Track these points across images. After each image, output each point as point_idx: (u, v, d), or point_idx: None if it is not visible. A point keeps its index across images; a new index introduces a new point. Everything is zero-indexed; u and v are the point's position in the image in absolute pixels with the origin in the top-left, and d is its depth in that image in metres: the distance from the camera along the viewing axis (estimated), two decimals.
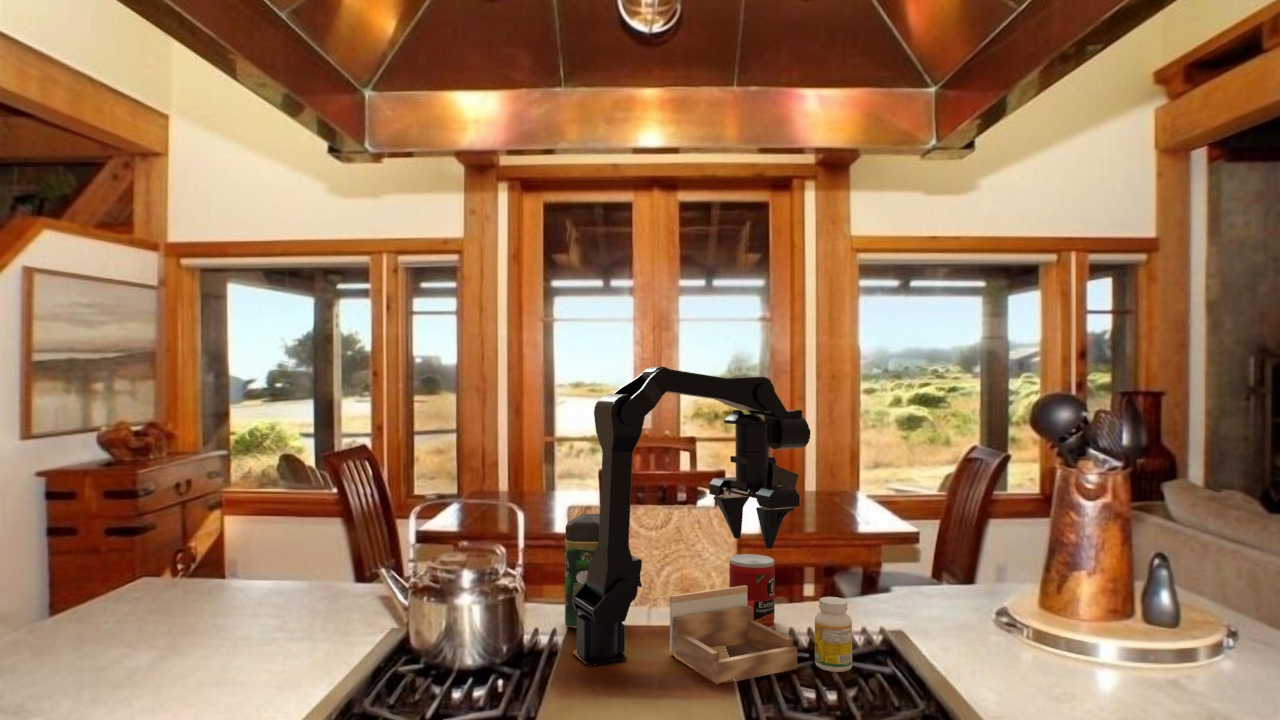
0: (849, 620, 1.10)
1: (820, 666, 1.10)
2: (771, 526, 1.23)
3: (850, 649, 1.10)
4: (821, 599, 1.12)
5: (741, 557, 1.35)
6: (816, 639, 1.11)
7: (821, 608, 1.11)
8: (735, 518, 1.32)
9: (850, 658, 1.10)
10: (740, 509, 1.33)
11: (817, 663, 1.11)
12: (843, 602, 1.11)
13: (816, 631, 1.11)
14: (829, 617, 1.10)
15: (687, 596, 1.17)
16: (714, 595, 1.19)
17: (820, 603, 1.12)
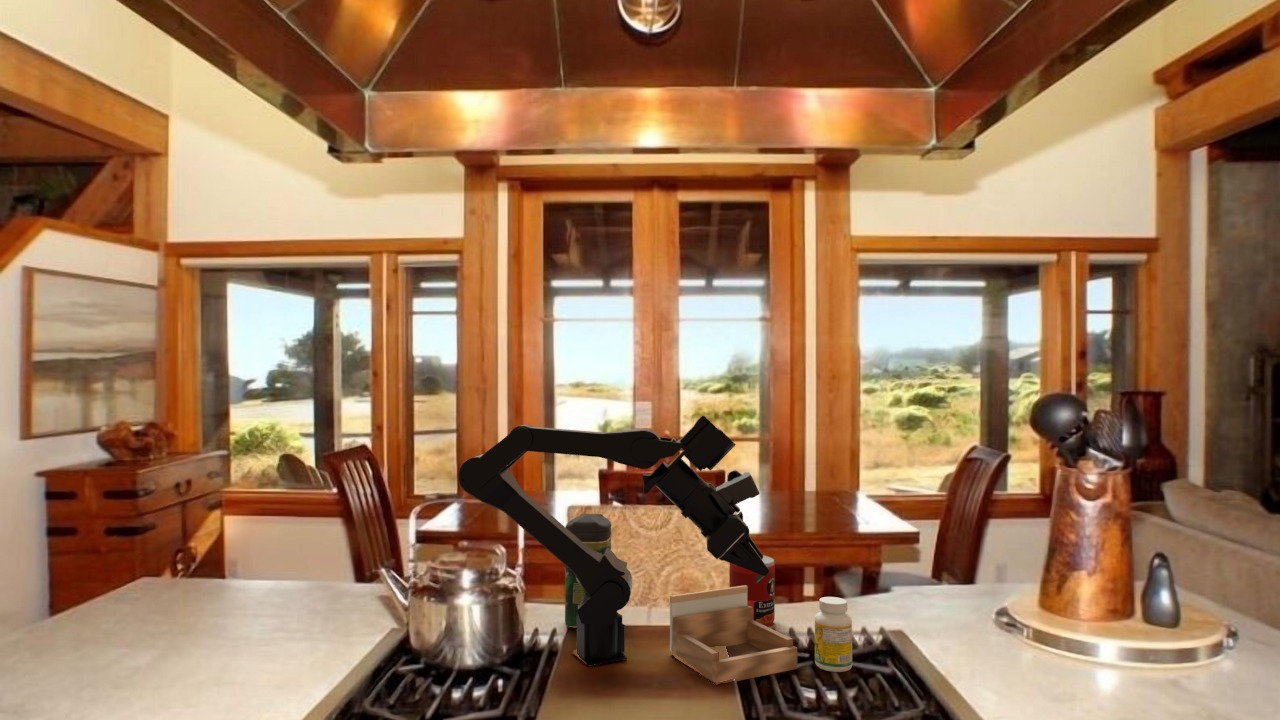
0: (849, 620, 1.10)
1: (820, 666, 1.10)
2: (746, 559, 1.08)
3: (850, 649, 1.10)
4: (821, 599, 1.12)
5: None
6: (816, 639, 1.11)
7: (821, 608, 1.11)
8: None
9: (850, 658, 1.10)
10: None
11: (817, 663, 1.11)
12: (843, 602, 1.11)
13: (816, 631, 1.11)
14: (829, 617, 1.10)
15: (687, 596, 1.17)
16: (714, 595, 1.19)
17: (820, 603, 1.12)
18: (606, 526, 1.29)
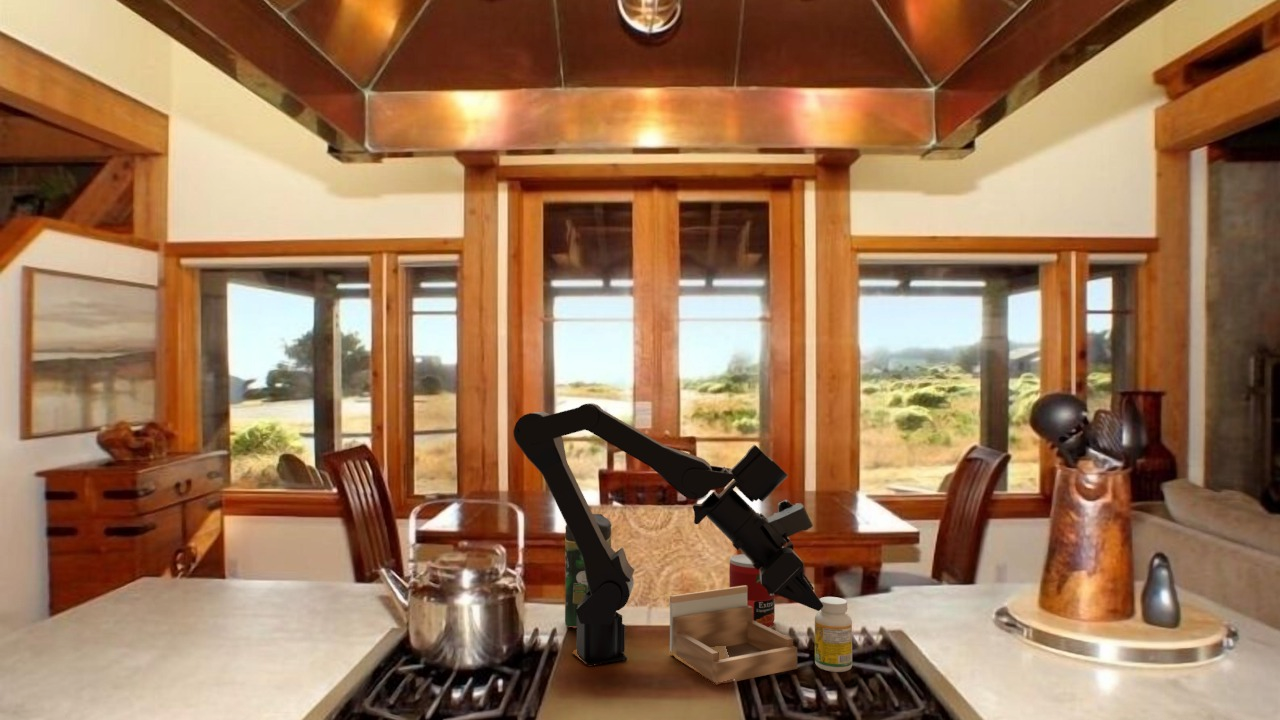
0: (849, 620, 1.10)
1: (820, 666, 1.10)
2: (800, 593, 1.07)
3: (850, 649, 1.10)
4: (821, 599, 1.12)
5: (741, 557, 1.35)
6: (816, 639, 1.11)
7: None
8: None
9: (850, 658, 1.10)
10: None
11: (817, 663, 1.11)
12: (843, 602, 1.11)
13: (816, 631, 1.11)
14: (829, 617, 1.10)
15: (687, 596, 1.17)
16: (714, 595, 1.19)
17: None
18: (606, 526, 1.29)
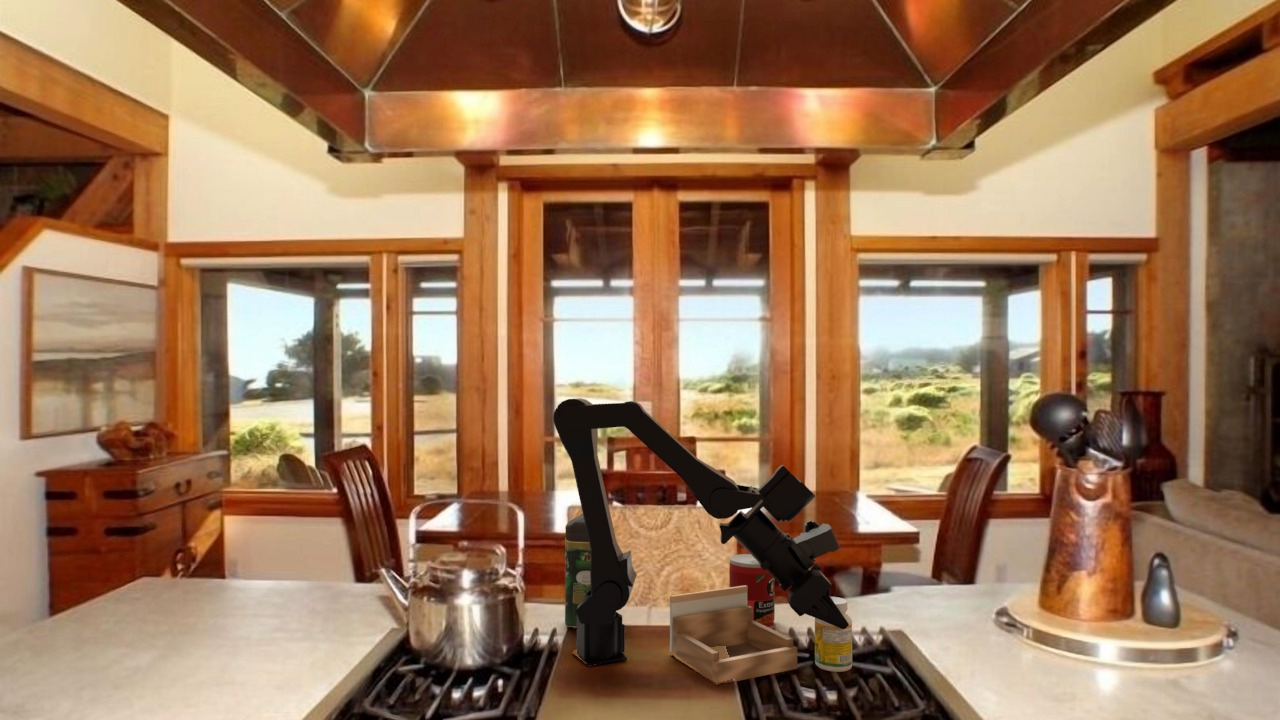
0: (849, 620, 1.10)
1: (820, 666, 1.10)
2: (825, 612, 1.08)
3: (850, 649, 1.10)
4: None
5: (741, 557, 1.35)
6: (816, 639, 1.11)
7: None
8: None
9: (850, 658, 1.10)
10: None
11: (817, 663, 1.11)
12: (843, 602, 1.11)
13: (816, 631, 1.11)
14: None
15: (687, 596, 1.17)
16: (714, 595, 1.19)
17: None
18: None
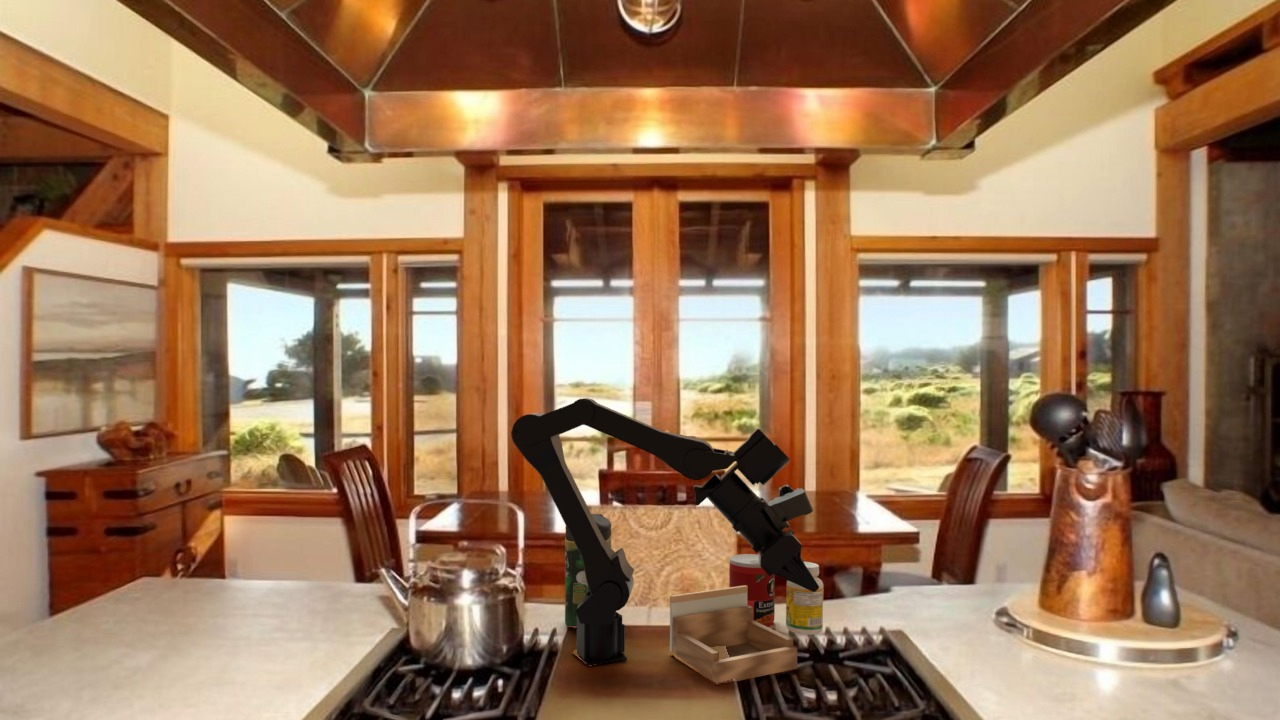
0: (820, 584, 1.11)
1: (790, 629, 1.11)
2: (796, 574, 1.09)
3: (821, 612, 1.10)
4: None
5: (741, 557, 1.35)
6: (787, 602, 1.12)
7: None
8: None
9: (820, 621, 1.10)
10: None
11: (788, 626, 1.11)
12: (815, 566, 1.11)
13: (787, 594, 1.12)
14: None
15: (687, 596, 1.17)
16: (714, 595, 1.19)
17: None
18: (606, 526, 1.29)
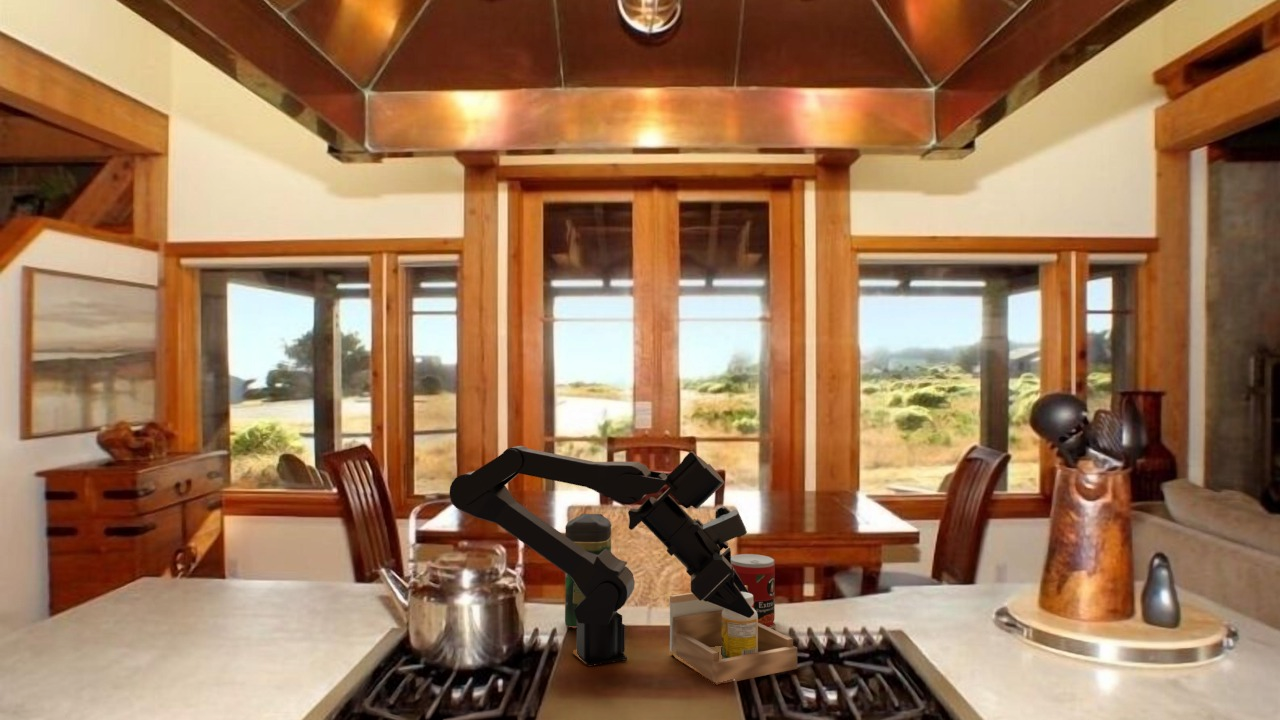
0: (754, 614, 1.11)
1: None
2: (730, 600, 1.07)
3: (755, 643, 1.10)
4: None
5: (741, 557, 1.35)
6: (722, 633, 1.12)
7: None
8: None
9: (755, 652, 1.10)
10: None
11: (723, 657, 1.11)
12: (749, 596, 1.11)
13: (722, 625, 1.12)
14: (734, 612, 1.10)
15: (687, 596, 1.17)
16: None
17: None
18: (606, 526, 1.29)
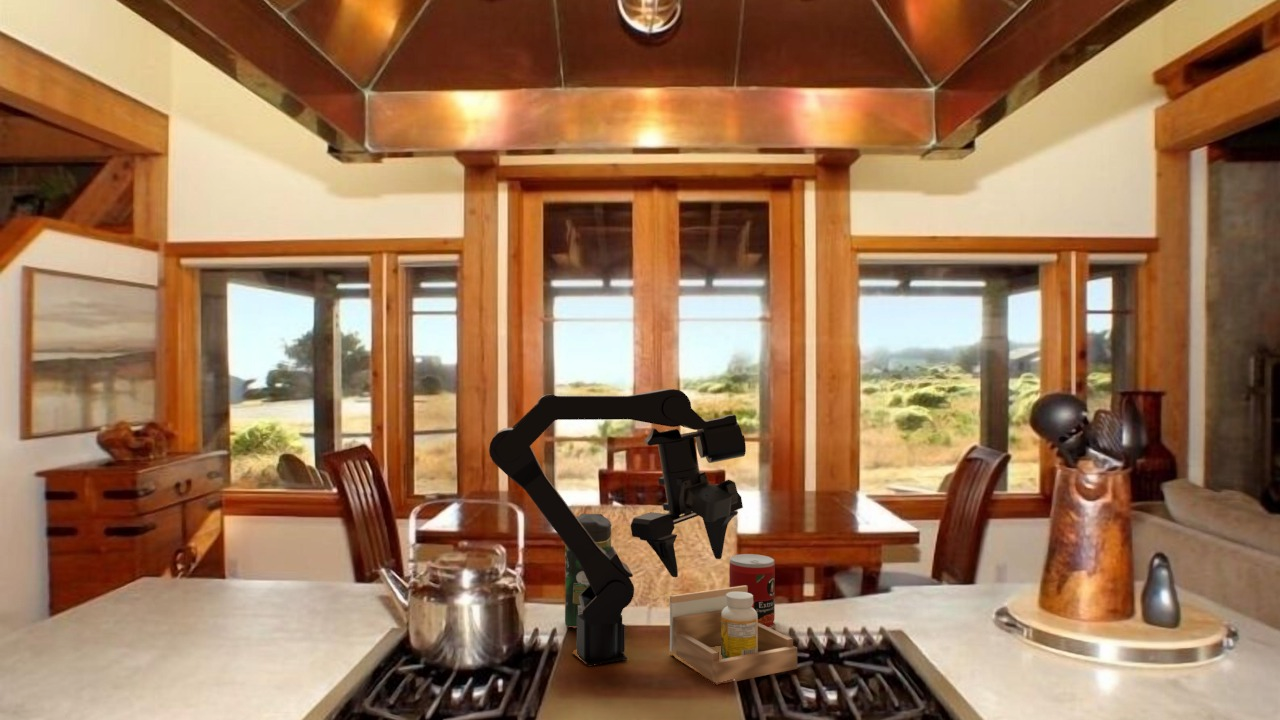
0: (754, 614, 1.11)
1: None
2: (662, 553, 1.15)
3: (755, 643, 1.10)
4: (728, 594, 1.13)
5: (741, 557, 1.35)
6: (722, 633, 1.12)
7: (727, 603, 1.12)
8: (713, 537, 1.21)
9: (755, 652, 1.10)
10: (719, 528, 1.20)
11: (723, 657, 1.11)
12: (748, 596, 1.11)
13: (722, 626, 1.12)
14: (734, 612, 1.10)
15: (687, 596, 1.17)
16: (714, 595, 1.19)
17: (726, 598, 1.12)
18: (606, 526, 1.29)
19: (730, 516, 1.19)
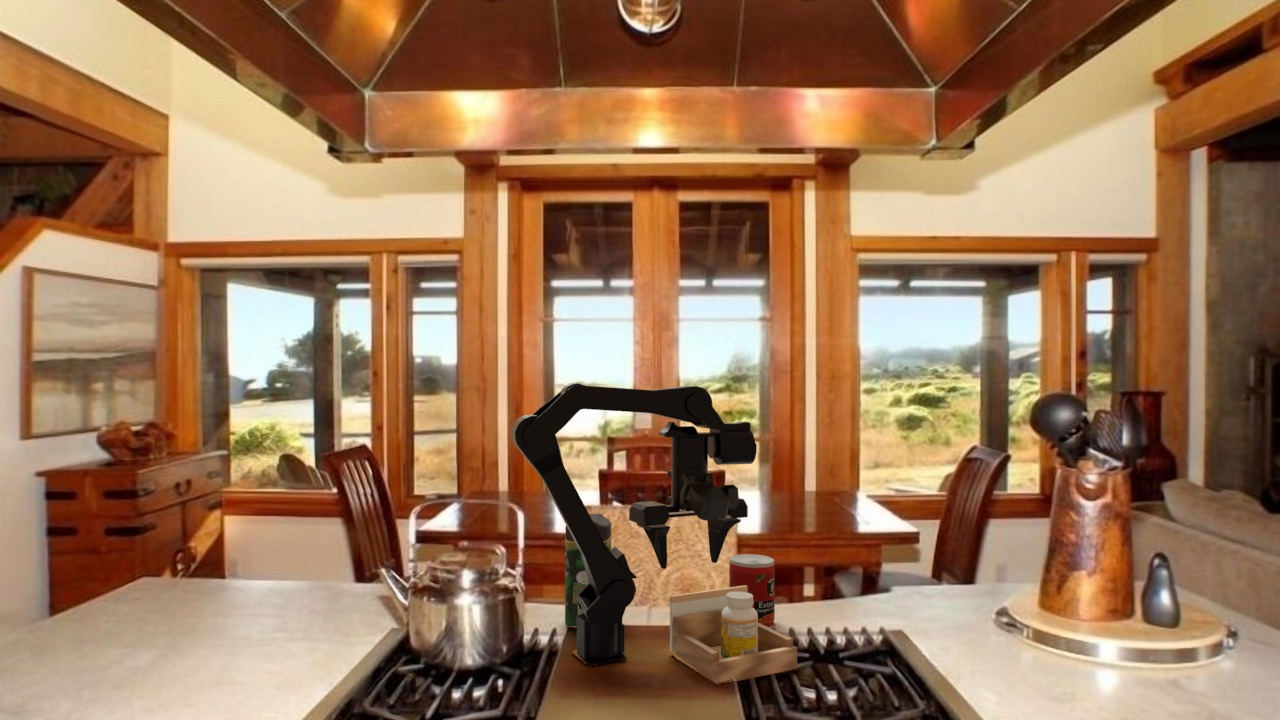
0: (754, 614, 1.11)
1: None
2: (655, 543, 1.17)
3: (755, 643, 1.10)
4: (728, 594, 1.13)
5: (741, 557, 1.35)
6: (722, 633, 1.12)
7: (727, 603, 1.12)
8: (713, 540, 1.21)
9: (755, 652, 1.10)
10: (719, 532, 1.20)
11: (723, 657, 1.11)
12: (748, 596, 1.11)
13: (722, 626, 1.12)
14: (734, 612, 1.10)
15: (687, 596, 1.17)
16: (714, 595, 1.19)
17: (726, 598, 1.12)
18: (606, 526, 1.29)
19: (731, 522, 1.19)
